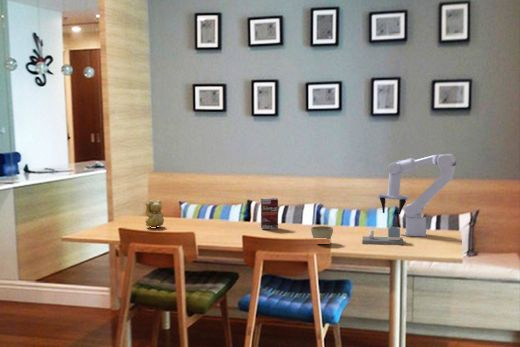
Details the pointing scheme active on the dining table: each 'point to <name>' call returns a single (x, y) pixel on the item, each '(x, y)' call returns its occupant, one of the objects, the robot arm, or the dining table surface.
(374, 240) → the pin board
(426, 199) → the robot arm
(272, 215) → the supplement box
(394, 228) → the sleeve
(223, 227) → the dining table surface
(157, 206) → the decorative figurine
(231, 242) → the dining table surface
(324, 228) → the flower pot
